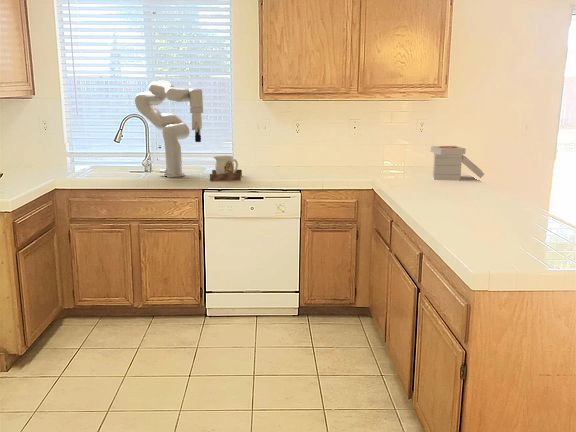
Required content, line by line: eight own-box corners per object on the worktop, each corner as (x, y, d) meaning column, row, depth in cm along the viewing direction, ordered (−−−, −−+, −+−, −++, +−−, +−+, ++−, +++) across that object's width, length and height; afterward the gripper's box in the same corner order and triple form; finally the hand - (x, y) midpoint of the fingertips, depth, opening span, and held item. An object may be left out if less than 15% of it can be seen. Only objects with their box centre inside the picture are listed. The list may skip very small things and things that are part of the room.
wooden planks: (209, 181, 348) (209, 174, 347) (212, 176, 365) (212, 169, 364) (240, 180, 349) (240, 173, 348) (241, 175, 365) (241, 169, 364)
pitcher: (243, 177, 359) (243, 155, 356) (220, 181, 347) (219, 158, 344) (232, 175, 367) (231, 153, 364) (208, 179, 354) (207, 156, 351)
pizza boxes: (484, 181, 338) (486, 149, 334) (430, 180, 344) (431, 149, 340) (480, 176, 356) (482, 146, 352) (429, 174, 362) (430, 145, 358)
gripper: (191, 109, 354) (193, 140, 358) (188, 111, 340) (190, 143, 344) (204, 109, 354) (205, 140, 358) (201, 111, 340) (203, 143, 344)
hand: (198, 141), depth 351 cm, fingers closed
